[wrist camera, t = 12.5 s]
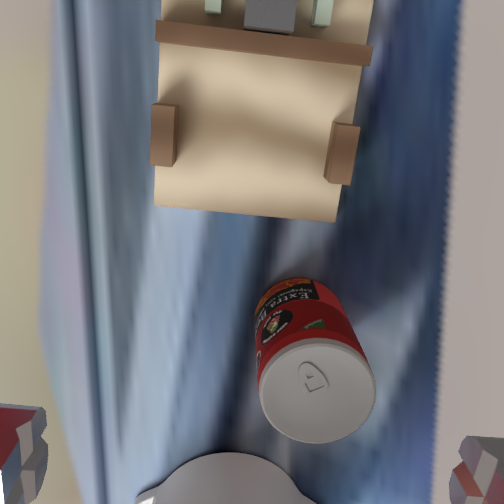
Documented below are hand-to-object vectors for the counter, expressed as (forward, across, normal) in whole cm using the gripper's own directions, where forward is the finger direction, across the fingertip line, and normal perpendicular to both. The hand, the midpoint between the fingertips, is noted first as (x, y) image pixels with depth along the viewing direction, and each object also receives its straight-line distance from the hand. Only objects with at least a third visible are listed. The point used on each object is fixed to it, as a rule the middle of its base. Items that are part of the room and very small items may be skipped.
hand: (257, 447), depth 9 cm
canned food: (+29, -6, +12) cm, 32 cm away
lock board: (+29, -1, -9) cm, 30 cm away
